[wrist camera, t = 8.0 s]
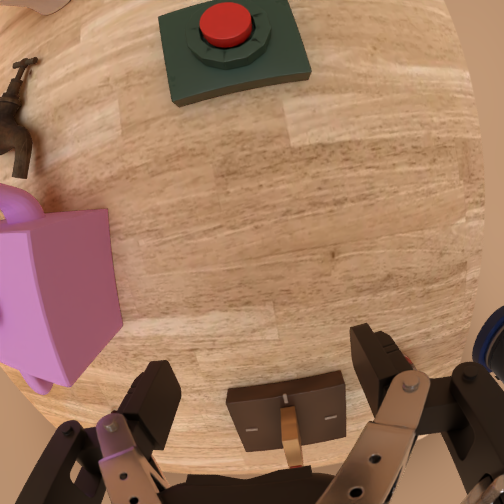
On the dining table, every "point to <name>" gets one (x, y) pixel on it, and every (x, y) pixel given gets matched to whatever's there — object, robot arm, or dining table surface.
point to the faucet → (7, 131)
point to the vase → (37, 5)
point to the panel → (287, 395)
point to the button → (226, 24)
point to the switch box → (231, 52)
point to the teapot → (54, 290)
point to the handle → (291, 437)
